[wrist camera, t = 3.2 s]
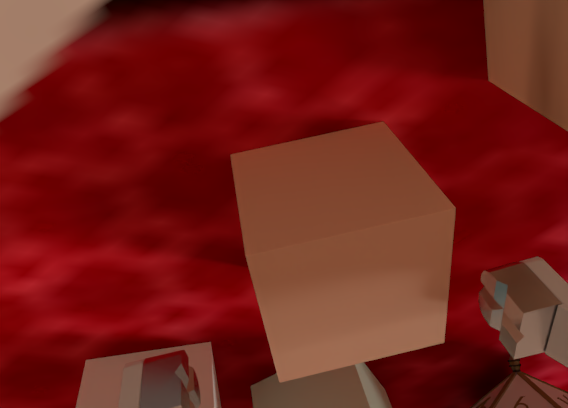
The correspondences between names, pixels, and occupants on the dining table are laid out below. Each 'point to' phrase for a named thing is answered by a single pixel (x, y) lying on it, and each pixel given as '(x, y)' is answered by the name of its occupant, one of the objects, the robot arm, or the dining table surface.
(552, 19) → the block oak
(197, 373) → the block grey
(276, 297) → the block terracotta
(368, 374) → the block sage
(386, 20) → the dining table surface
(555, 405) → the game die
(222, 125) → the dining table surface
